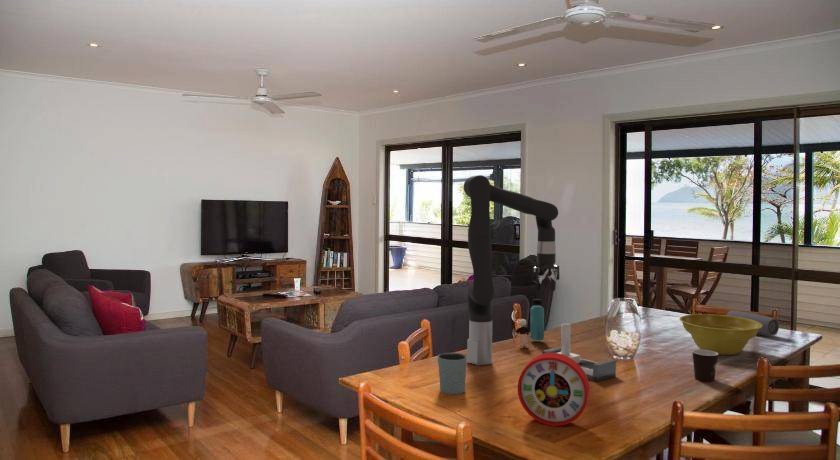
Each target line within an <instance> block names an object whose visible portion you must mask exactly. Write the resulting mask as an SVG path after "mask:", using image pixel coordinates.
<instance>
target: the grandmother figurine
mask: <svg viewBox="0 0 840 460" xmlns="http://www.w3.org/2000/svg"><path fill="white" fill-rule="evenodd" d="M518 324H519V326H520V327H517V328H516V329H515V332H514V336H515V337H516V336H517V335H518V349H519V348H520V349H523V348H525V349H528V348H529V344H528V343H529V342H528V336H529V337H530V336H531V333H530V328H528V327H526V325H527V320H526V319H524V318H521V319H519V322H518Z"/></svg>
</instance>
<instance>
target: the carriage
mask: <svg viewBox="0 0 840 460" xmlns="http://www.w3.org/2000/svg"><path fill="white" fill-rule="evenodd" d="M560 325H561V328H560V330H561V331H560V333H561V334H560V337H561V338H560V347H561V352H558V353H559V354H563V355H566V356H568V357H570V358H572V359H573V360H574V361H576V362H577V363H580V358H581V355H580V354H577V353H574V352H571V333H572V332H571V329H572V328H571V327H572V326H571V324H570V323H561V324H560Z"/></svg>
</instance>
